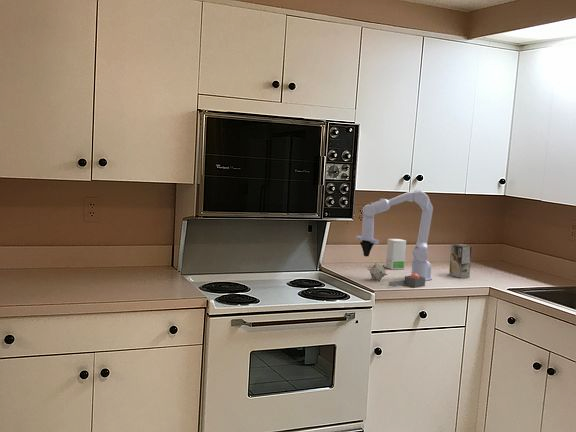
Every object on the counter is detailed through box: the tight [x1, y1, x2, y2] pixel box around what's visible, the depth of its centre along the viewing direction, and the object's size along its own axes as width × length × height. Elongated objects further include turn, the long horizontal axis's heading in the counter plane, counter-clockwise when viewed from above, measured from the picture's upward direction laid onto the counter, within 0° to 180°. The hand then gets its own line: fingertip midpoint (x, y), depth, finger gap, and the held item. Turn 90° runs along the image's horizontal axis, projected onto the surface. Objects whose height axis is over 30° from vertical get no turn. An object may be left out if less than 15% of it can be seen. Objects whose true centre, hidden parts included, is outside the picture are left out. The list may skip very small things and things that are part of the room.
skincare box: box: [385, 238, 407, 270], centre depth 347 cm, size 8×7×16 cm
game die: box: [367, 262, 388, 282], centre depth 316 cm, size 9×8×10 cm
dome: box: [409, 273, 420, 279], centre depth 308 cm, size 5×5×5 cm
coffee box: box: [448, 243, 472, 279], centre depth 334 cm, size 9×6×16 cm
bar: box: [388, 279, 405, 287], centre depth 306 cm, size 9×1×2 cm, turn 126°
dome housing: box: [404, 275, 426, 288], centre depth 308 cm, size 7×7×4 cm
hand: (366, 256), depth 322 cm, fingers closed
